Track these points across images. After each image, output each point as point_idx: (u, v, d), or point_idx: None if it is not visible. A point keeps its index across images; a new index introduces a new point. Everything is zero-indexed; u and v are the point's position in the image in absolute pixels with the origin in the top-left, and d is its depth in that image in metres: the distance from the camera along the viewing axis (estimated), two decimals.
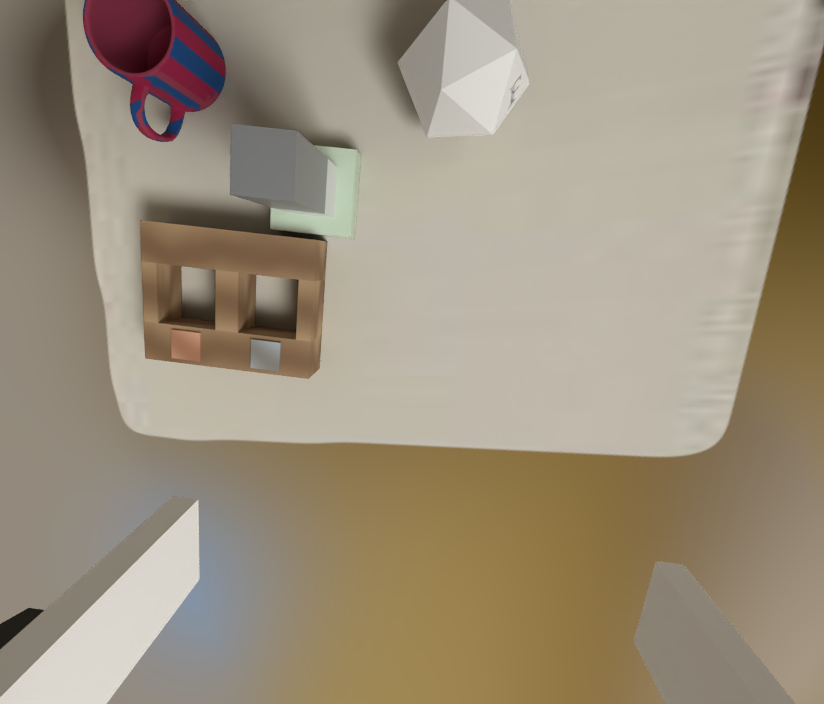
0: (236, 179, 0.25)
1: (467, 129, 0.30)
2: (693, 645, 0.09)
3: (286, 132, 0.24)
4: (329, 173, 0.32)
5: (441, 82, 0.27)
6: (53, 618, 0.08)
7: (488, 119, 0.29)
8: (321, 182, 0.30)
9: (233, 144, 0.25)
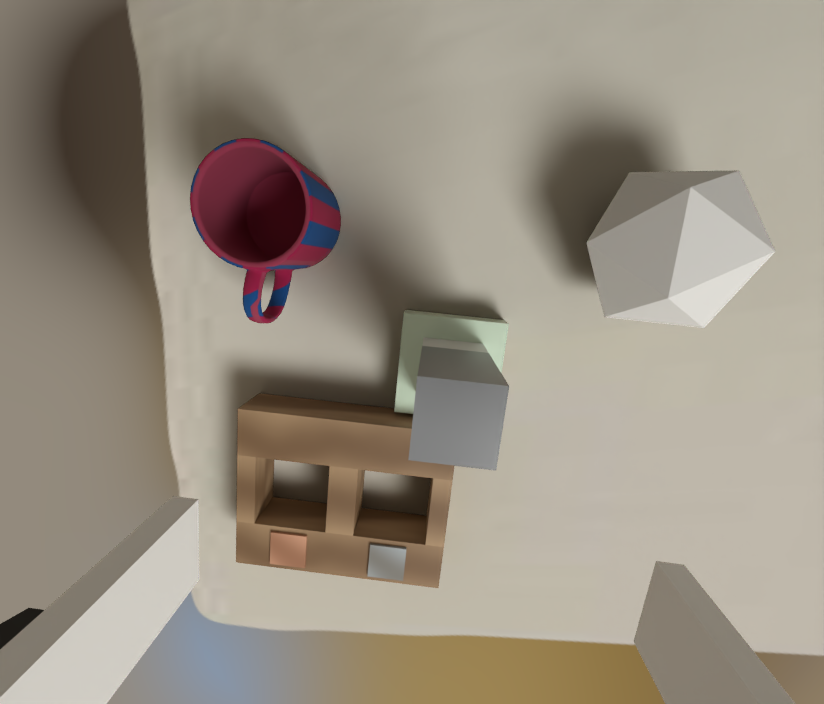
0: (418, 442, 0.19)
1: (670, 321, 0.24)
2: (693, 646, 0.09)
3: (494, 388, 0.18)
4: None
5: (669, 289, 0.21)
6: (53, 618, 0.08)
7: (706, 316, 0.23)
8: None
9: (418, 401, 0.18)
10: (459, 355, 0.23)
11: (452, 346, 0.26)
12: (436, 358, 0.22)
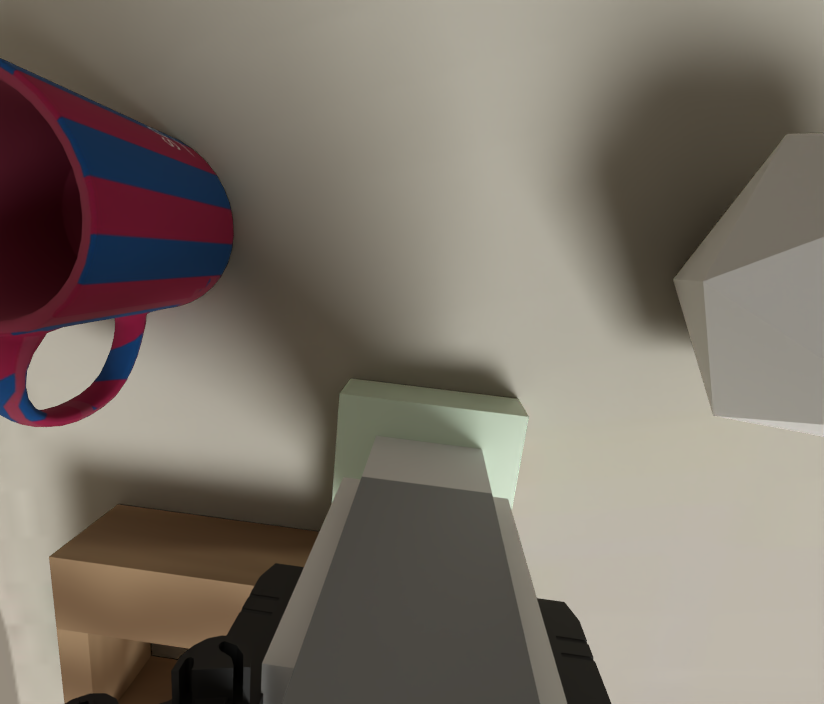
0: None
1: None
2: None
3: None
4: None
5: None
6: (317, 567, 0.10)
7: None
8: None
9: None
10: (430, 519, 0.11)
11: (423, 470, 0.13)
12: (373, 549, 0.10)
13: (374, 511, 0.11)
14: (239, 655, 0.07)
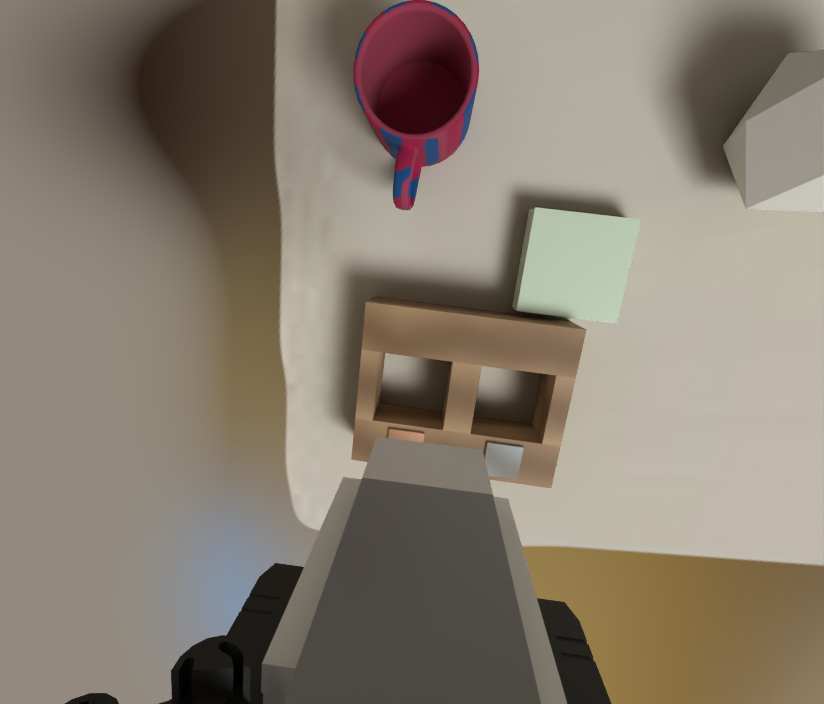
0: None
1: None
2: None
3: None
4: None
5: None
6: (317, 567, 0.10)
7: None
8: None
9: None
10: (431, 521, 0.11)
11: (423, 471, 0.13)
12: (374, 550, 0.10)
13: (375, 512, 0.11)
14: (239, 655, 0.07)
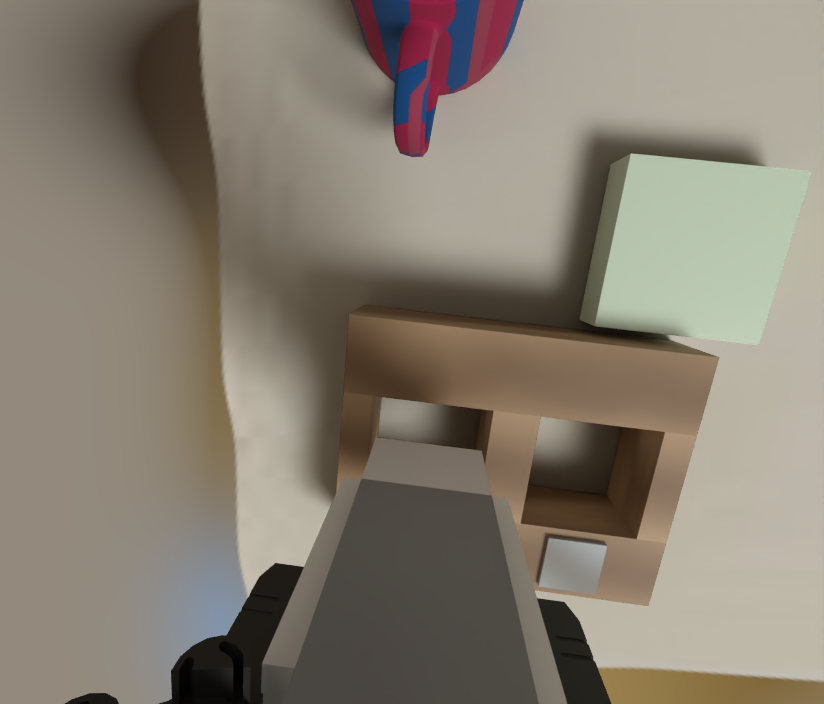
0: None
1: None
2: None
3: None
4: None
5: None
6: (317, 567, 0.10)
7: None
8: None
9: None
10: (430, 522, 0.11)
11: (422, 472, 0.13)
12: (373, 551, 0.10)
13: (374, 513, 0.11)
14: (239, 655, 0.07)
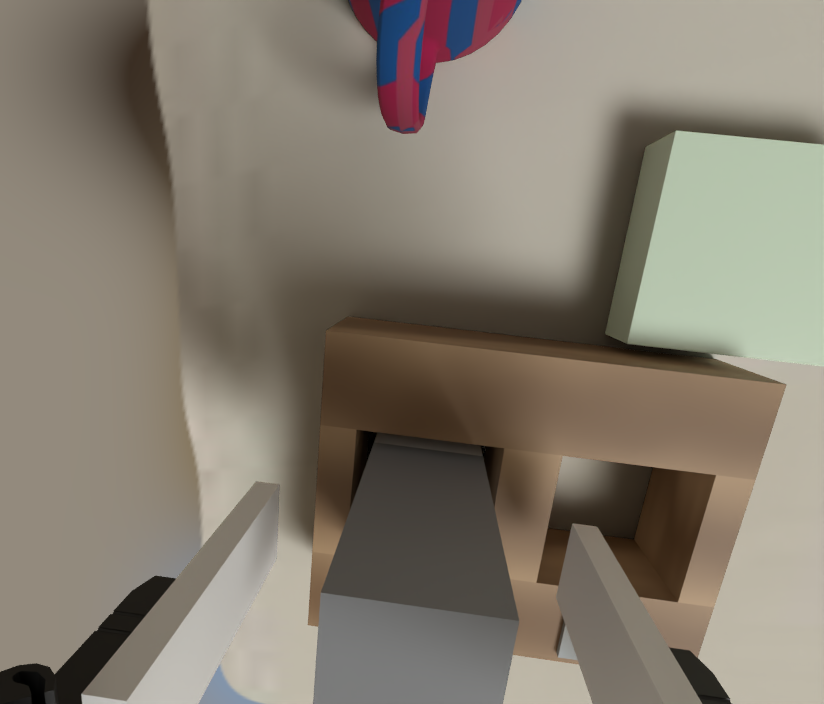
0: None
1: None
2: (591, 591, 0.11)
3: (486, 623, 0.08)
4: None
5: None
6: (189, 581, 0.09)
7: None
8: None
9: (326, 640, 0.09)
10: (431, 473, 0.13)
11: (425, 439, 0.16)
12: (386, 491, 0.12)
13: (385, 466, 0.13)
14: (41, 681, 0.06)
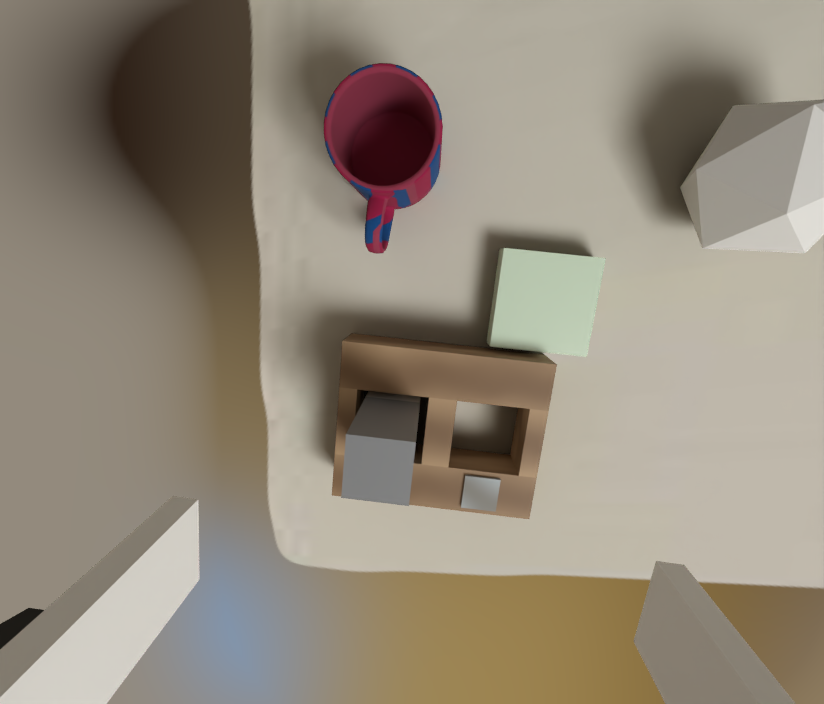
0: (348, 484, 0.24)
1: (773, 246, 0.25)
2: (693, 646, 0.09)
3: (404, 443, 0.23)
4: None
5: (788, 205, 0.22)
6: (53, 618, 0.08)
7: (811, 238, 0.24)
8: None
9: (347, 453, 0.24)
10: (392, 407, 0.29)
11: (392, 396, 0.31)
12: (371, 412, 0.27)
13: (371, 404, 0.29)
14: None
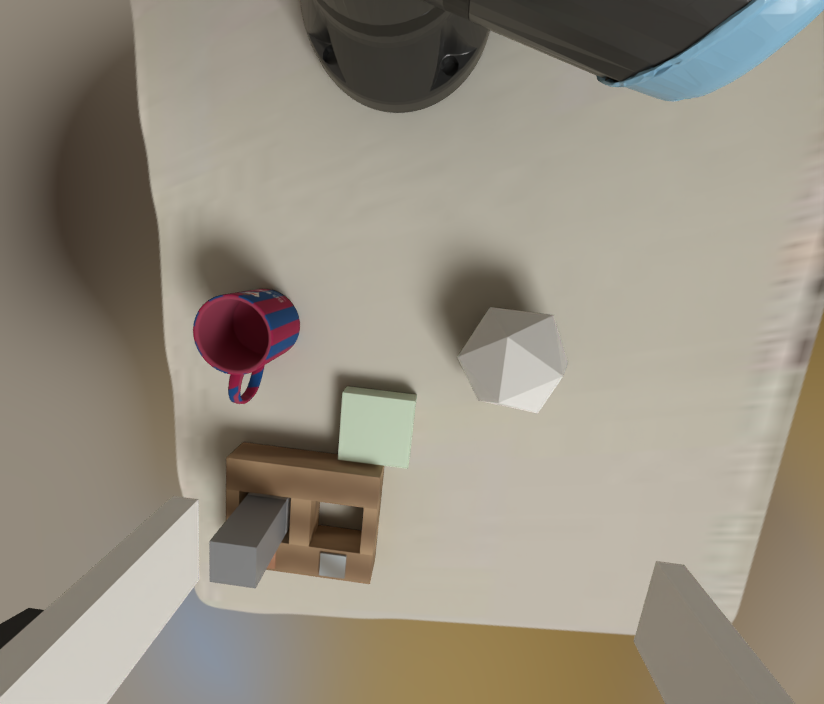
0: (213, 573, 0.35)
1: (515, 408, 0.35)
2: (693, 645, 0.09)
3: (249, 548, 0.34)
4: (288, 504, 0.42)
5: (499, 397, 0.32)
6: (53, 618, 0.08)
7: (535, 407, 0.34)
8: (281, 524, 0.40)
9: (211, 553, 0.35)
10: (261, 507, 0.39)
11: None
12: (241, 514, 0.38)
13: (246, 505, 0.40)
14: None
